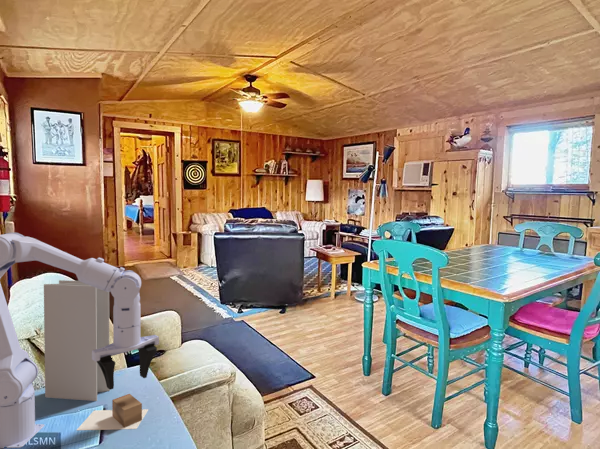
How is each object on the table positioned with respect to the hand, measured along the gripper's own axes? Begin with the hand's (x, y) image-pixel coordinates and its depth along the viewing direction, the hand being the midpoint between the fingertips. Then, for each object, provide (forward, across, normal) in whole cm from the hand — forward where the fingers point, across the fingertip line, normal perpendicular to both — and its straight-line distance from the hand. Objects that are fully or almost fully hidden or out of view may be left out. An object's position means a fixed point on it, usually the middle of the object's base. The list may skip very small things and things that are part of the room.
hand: (127, 382), depth 86 cm
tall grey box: (+10, +4, -21) cm, 24 cm away
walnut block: (+9, 0, 0) cm, 9 cm away
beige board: (+9, +2, -2) cm, 10 cm away
